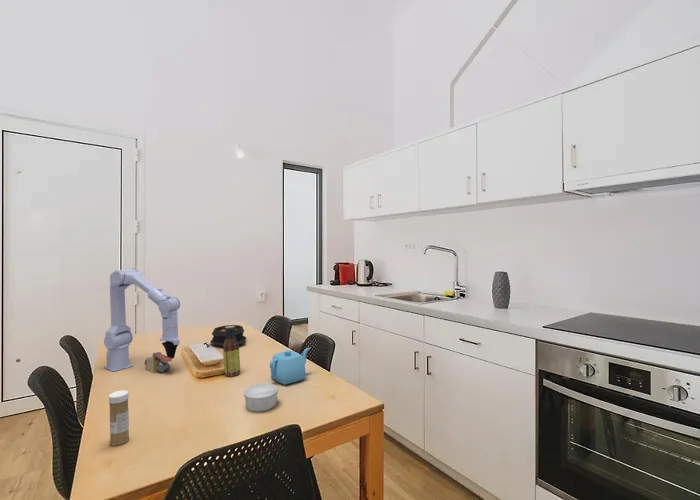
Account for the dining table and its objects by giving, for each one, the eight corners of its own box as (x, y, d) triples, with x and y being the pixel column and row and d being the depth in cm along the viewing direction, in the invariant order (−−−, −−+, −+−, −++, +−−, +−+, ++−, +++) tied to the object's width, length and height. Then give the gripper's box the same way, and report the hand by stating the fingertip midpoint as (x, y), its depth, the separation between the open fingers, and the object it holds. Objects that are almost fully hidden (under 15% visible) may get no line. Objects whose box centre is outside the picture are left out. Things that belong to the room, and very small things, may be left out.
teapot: (318, 377, 140) (318, 348, 139) (278, 390, 128) (277, 359, 128) (302, 369, 149) (301, 342, 149) (263, 380, 138) (262, 351, 138)
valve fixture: (142, 368, 153) (141, 355, 153) (156, 364, 158) (155, 352, 158) (158, 374, 145) (157, 361, 145) (172, 370, 150) (172, 357, 150)
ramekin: (260, 417, 108) (260, 400, 108) (236, 408, 114) (236, 392, 114) (285, 402, 118) (285, 387, 118) (262, 395, 124) (261, 380, 124)
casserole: (253, 345, 186) (253, 329, 186) (217, 352, 175) (217, 335, 175) (238, 335, 206) (237, 321, 206) (204, 341, 195) (204, 326, 195)
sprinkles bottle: (107, 442, 96) (106, 393, 95) (126, 435, 99) (125, 388, 99) (113, 448, 93) (111, 398, 92) (132, 441, 96) (130, 392, 96)
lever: (159, 354, 154) (159, 351, 154) (173, 360, 145) (173, 357, 145) (151, 356, 151) (151, 353, 151) (165, 362, 143) (165, 359, 143)
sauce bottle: (243, 372, 146) (242, 325, 146) (233, 378, 140) (232, 328, 140) (230, 370, 148) (229, 324, 148) (220, 376, 142) (219, 327, 142)
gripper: (154, 325, 150) (155, 357, 151) (166, 331, 140) (167, 364, 141) (171, 322, 155) (172, 353, 156) (184, 327, 145) (185, 360, 146)
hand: (171, 358), depth 148 cm, fingers closed
